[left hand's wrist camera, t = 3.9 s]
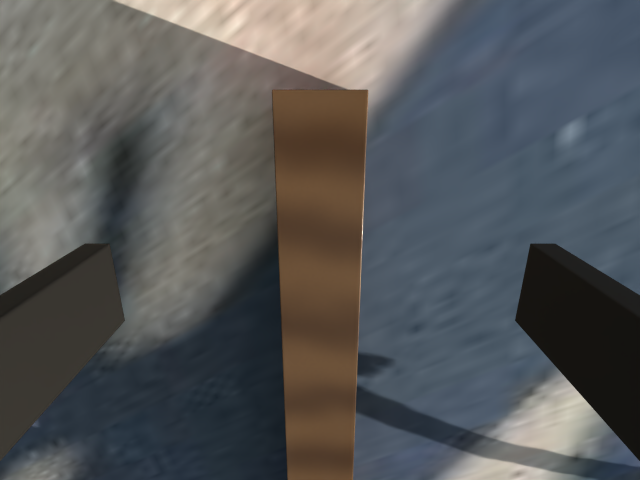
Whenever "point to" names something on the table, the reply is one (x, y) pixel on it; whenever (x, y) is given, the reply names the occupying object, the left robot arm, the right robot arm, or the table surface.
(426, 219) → the table surface
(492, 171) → the table surface
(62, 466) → the table surface
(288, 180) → the post
